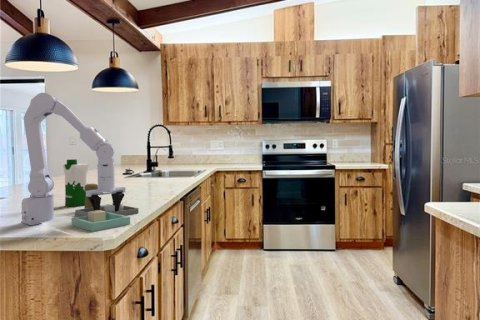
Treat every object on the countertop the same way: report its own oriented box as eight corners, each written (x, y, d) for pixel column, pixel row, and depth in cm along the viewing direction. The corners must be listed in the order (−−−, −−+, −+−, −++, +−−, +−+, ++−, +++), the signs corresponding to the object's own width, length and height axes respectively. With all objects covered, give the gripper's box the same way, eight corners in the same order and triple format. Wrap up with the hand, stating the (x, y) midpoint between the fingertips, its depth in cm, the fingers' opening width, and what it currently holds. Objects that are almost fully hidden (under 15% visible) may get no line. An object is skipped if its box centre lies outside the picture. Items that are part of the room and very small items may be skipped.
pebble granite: (116, 213, 143) (116, 204, 143) (110, 212, 146) (110, 203, 146) (125, 212, 147) (125, 203, 146) (119, 211, 149) (119, 202, 149)
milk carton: (61, 206, 165) (60, 159, 164) (80, 203, 172) (79, 158, 171) (74, 207, 160) (73, 160, 159) (92, 204, 168) (91, 159, 166)
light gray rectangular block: (104, 218, 136) (104, 206, 135) (98, 216, 138) (98, 205, 138) (114, 216, 139) (114, 205, 138) (108, 214, 141) (108, 204, 141)
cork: (95, 209, 156) (94, 182, 156) (103, 211, 152) (102, 183, 152) (81, 211, 152) (80, 183, 151) (88, 213, 148) (88, 185, 147)
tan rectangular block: (94, 225, 124) (94, 213, 124) (88, 223, 126) (87, 211, 126) (105, 223, 127) (105, 211, 127) (99, 221, 129) (99, 210, 129)
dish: (92, 233, 116) (92, 223, 115) (71, 227, 124) (71, 217, 124) (130, 225, 126) (130, 216, 125) (108, 220, 134) (108, 212, 134)
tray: (96, 222, 132) (96, 214, 131) (75, 216, 141) (75, 209, 141) (138, 214, 144) (138, 208, 144) (116, 210, 154) (116, 204, 154)
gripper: (92, 179, 130) (93, 218, 130) (129, 175, 141) (130, 212, 141) (82, 177, 134) (83, 216, 135) (119, 174, 145) (119, 210, 146)
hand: (106, 214), depth 138 cm, fingers open, 7 cm apart
